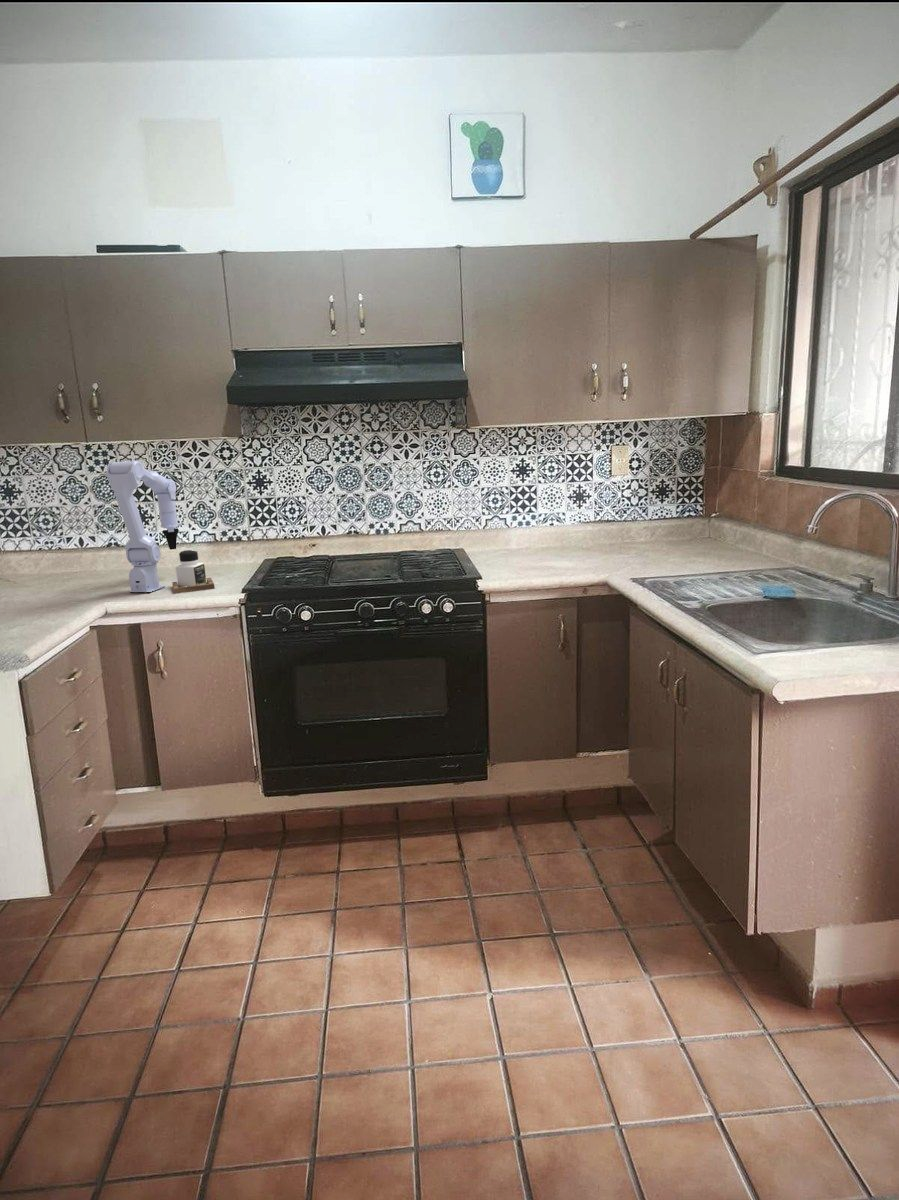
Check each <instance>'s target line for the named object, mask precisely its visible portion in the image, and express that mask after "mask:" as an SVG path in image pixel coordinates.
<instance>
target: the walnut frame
mask: <svg viewBox="0 0 899 1200" xmlns="http://www.w3.org/2000/svg"><path fill="white" fill-rule="evenodd" d="M171 583H172V584H171V585H172V588H173V593H174V594H181V592H182V593H187V592H188V593H189V592H196V591H204V590H212V589H214V590H215V583H214V581H213V579H212V577H206V583H203V584H201V585H195V586H187V587H179V586H178V581H172V582H171Z"/></svg>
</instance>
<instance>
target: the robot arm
mask: <svg viewBox="0 0 899 1200" xmlns="http://www.w3.org/2000/svg"><path fill="white" fill-rule="evenodd" d="M105 472H106V473H105V475H106V477H107V480H108V482H109V485H110V488H111V490H113V493H114V496H115V499H116V502H117V504H118V507H119V510H120V513H121V515H122V520H123V522H124V524H125V527H126V530H127V533H128V537H129V540H128V541H127V542H126V543H125V546H124V549H125V556H126V560H127V561H128V563H130V564H131V566H132V569H130V571H129V573H128V577H129V579H128V580H129V585H130V591H129V592H151V593H152V591H153V592H155V590H156V591H158V590H159V589H162V588H165V587H166V585H163V584H161V585H160V580H159V573H158V567H157V563H159V561H160V559H161V549H160V547H159V546H158V544H157V543H156V540H155V538H153V537H150V536H149V535H148V534H147V532H146V530H145V527H144V524H143V520H142V518H141V514H140V512H139V509H138V506H137V503H136V499H135V496H134V494H133V492H134V491H135V490H136V489H138V487H139V485H140V482H141V481H143V485H144V486H146V487H147V488H150V489H151V490H152V491H153V494H154V495H155V496H157V497H156V498H157V503H158V510H159V511H158V512H159V518H160V528H164V530H162V531H161V532H162V533H163V535H164V536H165V539H166V542H167V545H168V548H169V550H177V539H178V534H179V531H180V530H179V528H177V527H178V526H182V523H181V522H179V521H178V515H177V508H176V501H175V499H176V495H177V494H176V493H177V492H176V491H177V485H176V483H175V481H174V479H172V478H166V477H164V475H161V474H159V473H158V471H157V470H151V471H149V470H147V469H146V468H145V467H144V465H143V463H142V462H140V461H139V460H131V461H110V462H109V463H108V464H107V468H106V471H105ZM157 589H158V590H157Z"/></svg>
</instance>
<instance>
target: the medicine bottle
mask: <svg viewBox="0 0 899 1200" xmlns="http://www.w3.org/2000/svg"><path fill="white" fill-rule="evenodd" d="M178 554H179V562H180V564H179V565H176V566H175V573H176V579H177V580H176V582H177V585H178V587H179V586H195V585H204V584H206V583H207V575H206V568H205V567H206V566H205V563H204V562H199V555H198V554H199V553H198V551H197V550H195V549H188V550H183V551H180V552H179V553H178Z"/></svg>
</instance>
